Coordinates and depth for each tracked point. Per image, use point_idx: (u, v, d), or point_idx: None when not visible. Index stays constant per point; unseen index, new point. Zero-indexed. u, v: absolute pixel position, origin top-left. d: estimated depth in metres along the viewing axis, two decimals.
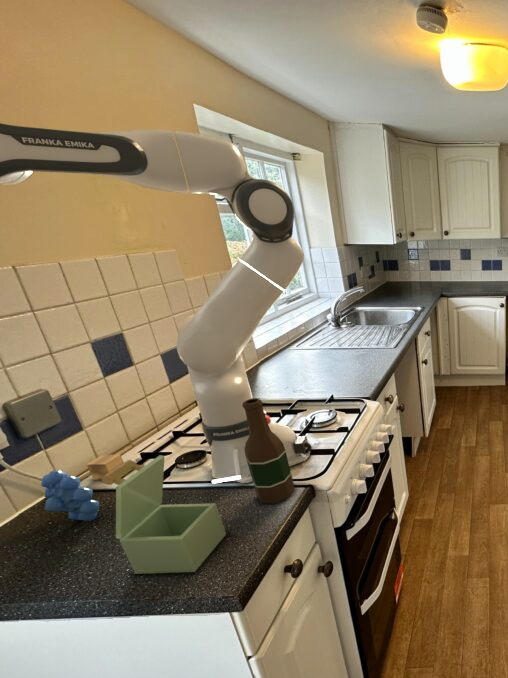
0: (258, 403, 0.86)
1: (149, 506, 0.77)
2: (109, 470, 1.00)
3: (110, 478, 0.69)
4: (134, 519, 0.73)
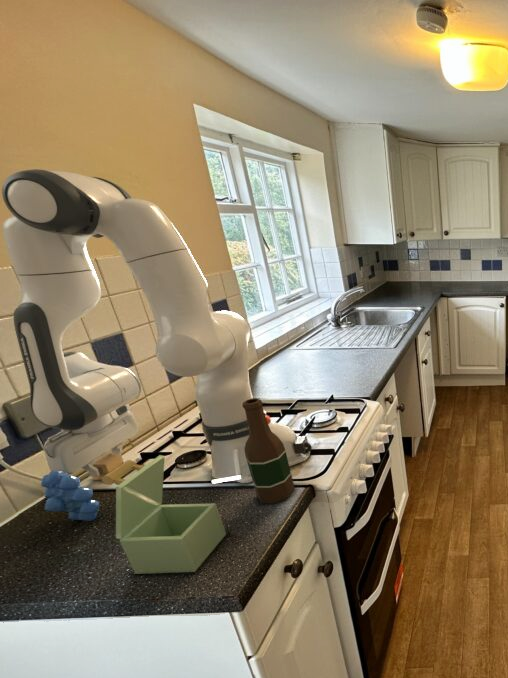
0: (258, 403, 0.86)
1: (149, 506, 0.77)
2: (109, 470, 1.00)
3: (110, 478, 0.69)
4: (134, 519, 0.73)
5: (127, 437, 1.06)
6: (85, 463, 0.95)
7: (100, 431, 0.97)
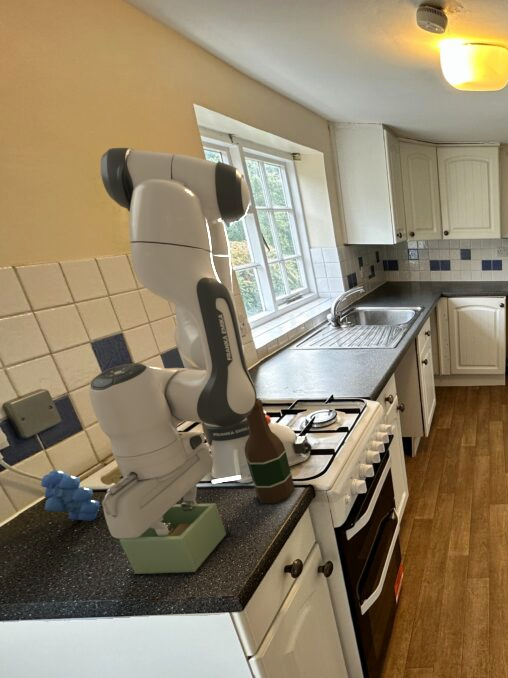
0: (258, 403, 0.86)
1: None
2: None
3: (109, 478, 0.69)
4: None
5: (201, 477, 0.80)
6: (155, 519, 0.69)
7: (172, 474, 0.71)
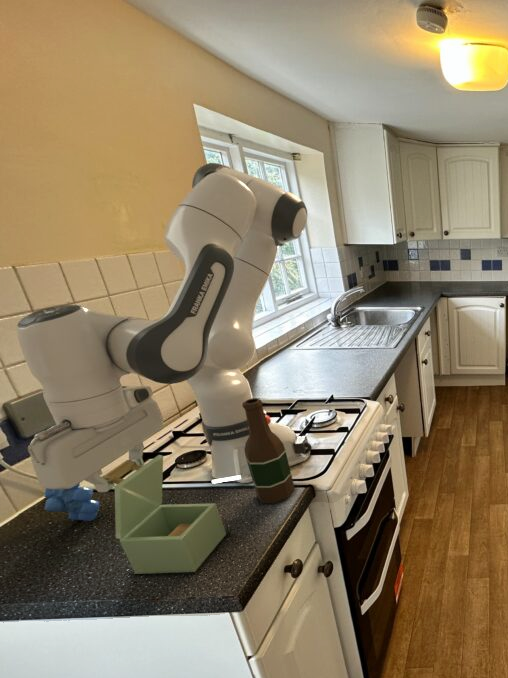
0: (258, 403, 0.86)
1: (149, 506, 0.76)
2: None
3: None
4: (134, 519, 0.73)
5: (149, 434, 0.76)
6: (91, 472, 0.65)
7: (112, 425, 0.67)
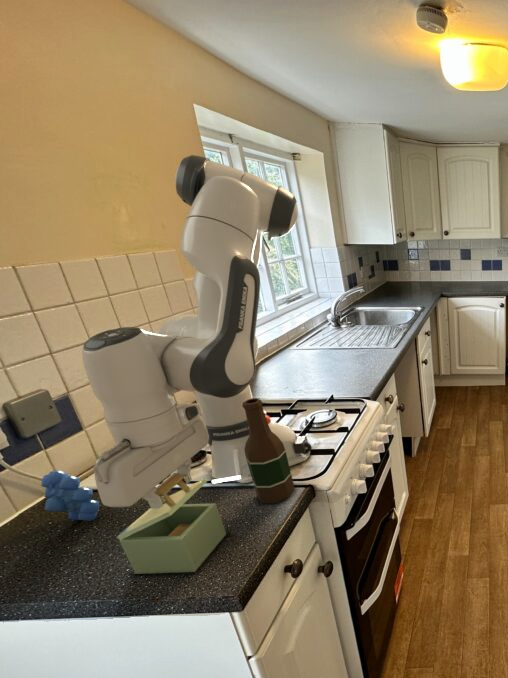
0: (258, 403, 0.86)
1: None
2: None
3: (161, 494, 0.71)
4: None
5: (196, 450, 0.77)
6: (148, 489, 0.67)
7: (167, 443, 0.69)
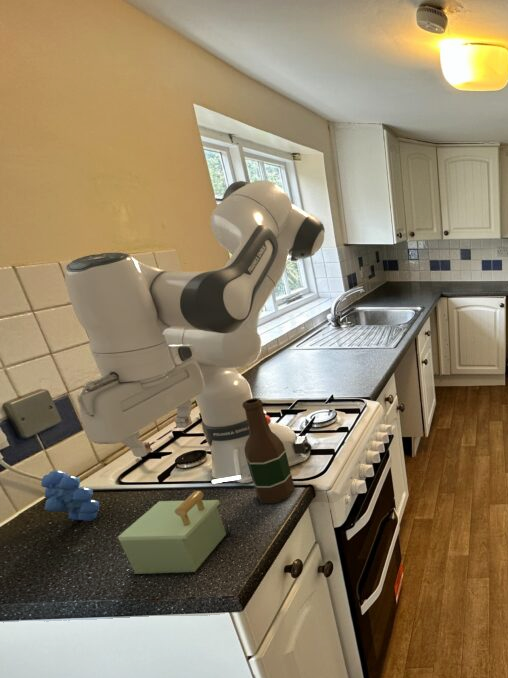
0: (258, 403, 0.86)
1: None
2: None
3: (184, 514, 0.73)
4: None
5: (191, 396, 0.73)
6: (138, 428, 0.62)
7: (158, 381, 0.65)
